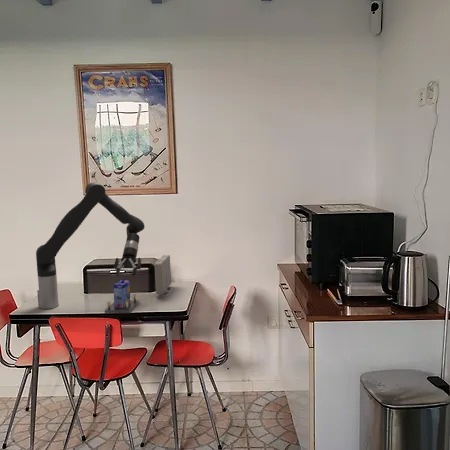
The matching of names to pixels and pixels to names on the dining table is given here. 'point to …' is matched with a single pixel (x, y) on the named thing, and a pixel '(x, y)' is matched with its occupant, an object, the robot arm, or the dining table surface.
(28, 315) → the dining table surface
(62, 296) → the dining table surface
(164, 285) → the network device
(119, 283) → the ink cartridge box
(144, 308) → the dining table surface
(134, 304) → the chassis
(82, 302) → the dining table surface
